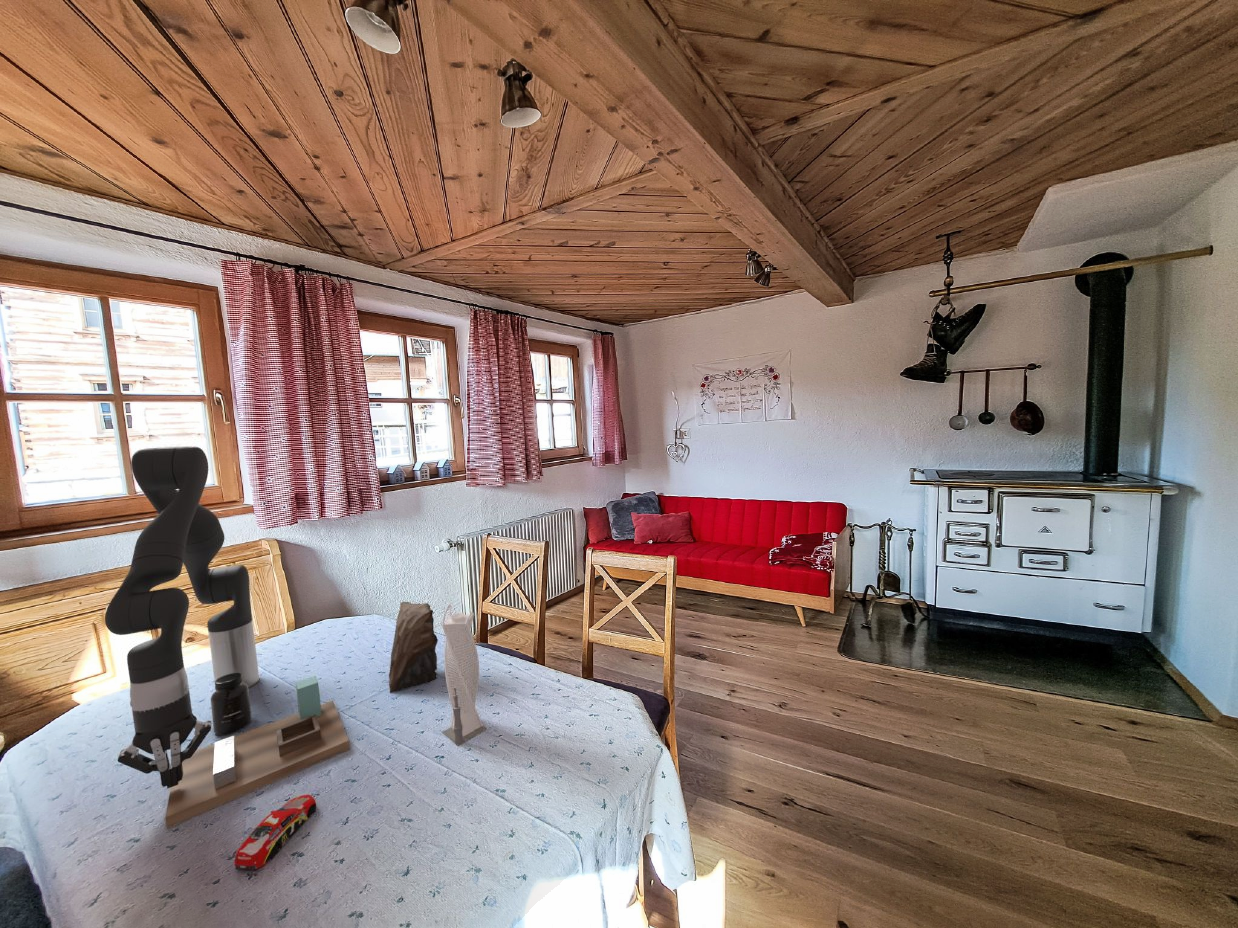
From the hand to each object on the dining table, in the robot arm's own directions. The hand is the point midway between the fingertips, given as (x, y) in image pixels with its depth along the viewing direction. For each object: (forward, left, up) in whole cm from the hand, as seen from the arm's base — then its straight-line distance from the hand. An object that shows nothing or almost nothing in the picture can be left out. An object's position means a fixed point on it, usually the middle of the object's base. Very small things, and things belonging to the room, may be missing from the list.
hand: (173, 784), depth 85 cm
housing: (-2, +14, -3) cm, 14 cm away
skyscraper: (+19, +49, -4) cm, 52 cm away
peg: (-9, +23, -1) cm, 24 cm away
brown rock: (-12, +46, -3) cm, 47 cm away
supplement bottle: (-21, +9, -3) cm, 23 cm away
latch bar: (0, +7, -1) cm, 8 cm away
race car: (+24, +14, -4) cm, 28 cm away
